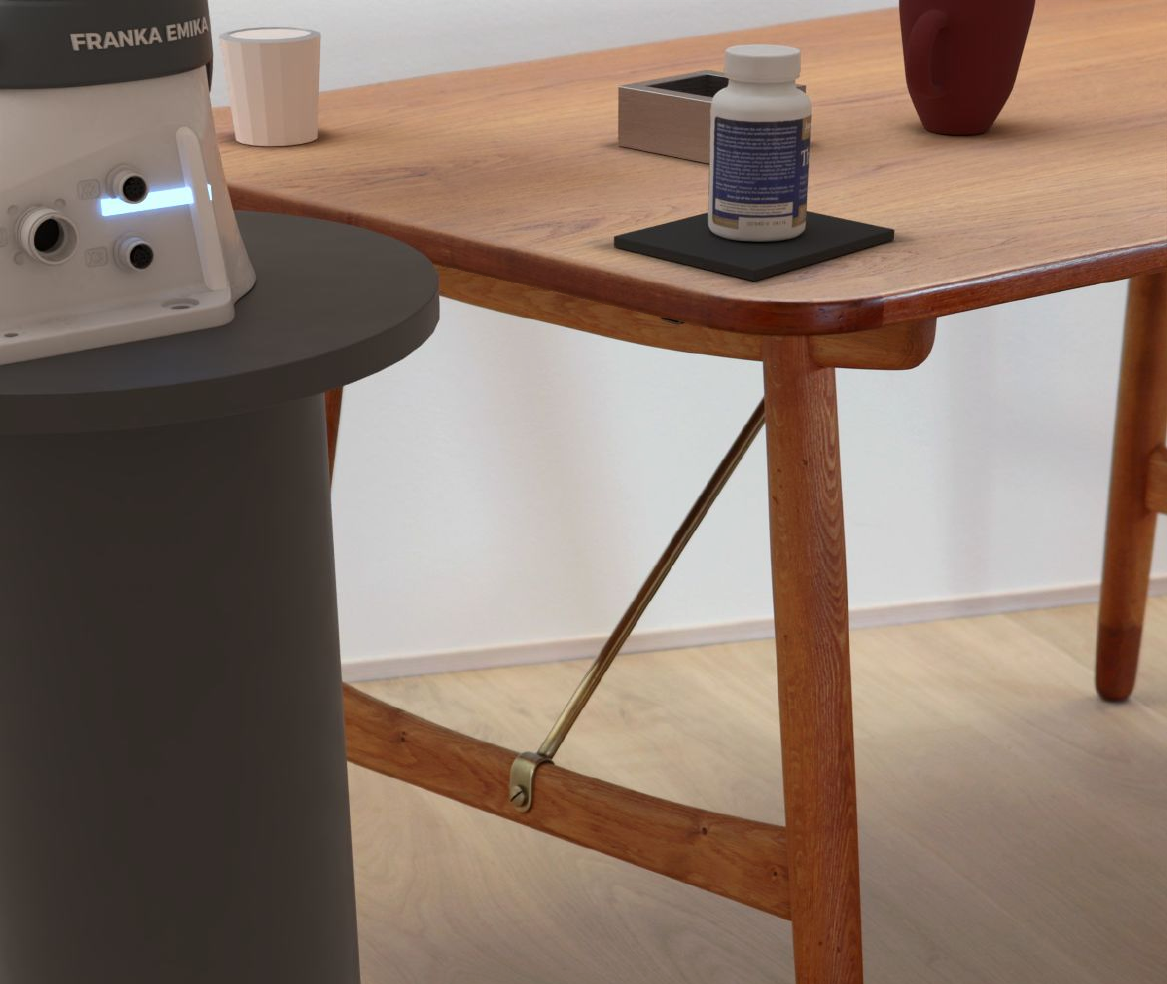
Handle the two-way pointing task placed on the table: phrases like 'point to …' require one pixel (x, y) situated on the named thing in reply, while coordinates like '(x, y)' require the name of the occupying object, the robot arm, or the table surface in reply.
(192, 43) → the robot arm
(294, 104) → the beige cup
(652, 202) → the table surface
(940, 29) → the mug
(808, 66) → the table surface
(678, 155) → the box
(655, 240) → the mat
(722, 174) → the pill bottle
